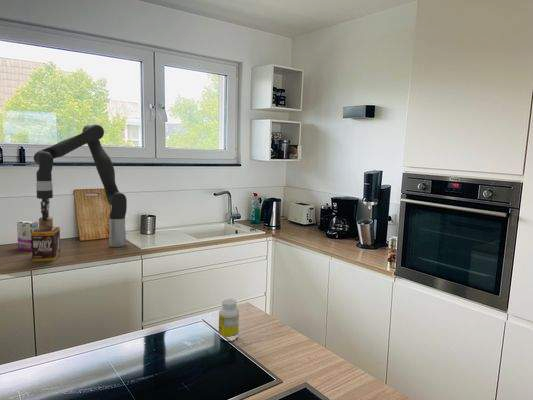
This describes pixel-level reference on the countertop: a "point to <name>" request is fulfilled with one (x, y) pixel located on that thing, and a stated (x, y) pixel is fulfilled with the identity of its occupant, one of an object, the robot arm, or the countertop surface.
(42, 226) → the walnut block
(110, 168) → the robot arm
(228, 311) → the supplement bottle
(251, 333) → the countertop surface
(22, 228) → the candy bar box
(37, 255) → the supplement box
